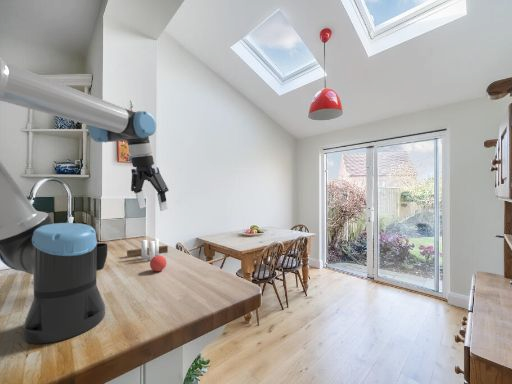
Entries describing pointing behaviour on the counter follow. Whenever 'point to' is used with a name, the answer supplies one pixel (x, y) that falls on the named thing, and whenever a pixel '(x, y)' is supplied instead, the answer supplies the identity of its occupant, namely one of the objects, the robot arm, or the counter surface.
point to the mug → (101, 255)
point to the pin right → (156, 246)
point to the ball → (158, 263)
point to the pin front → (151, 249)
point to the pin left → (144, 249)
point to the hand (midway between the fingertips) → (153, 208)
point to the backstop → (138, 251)
